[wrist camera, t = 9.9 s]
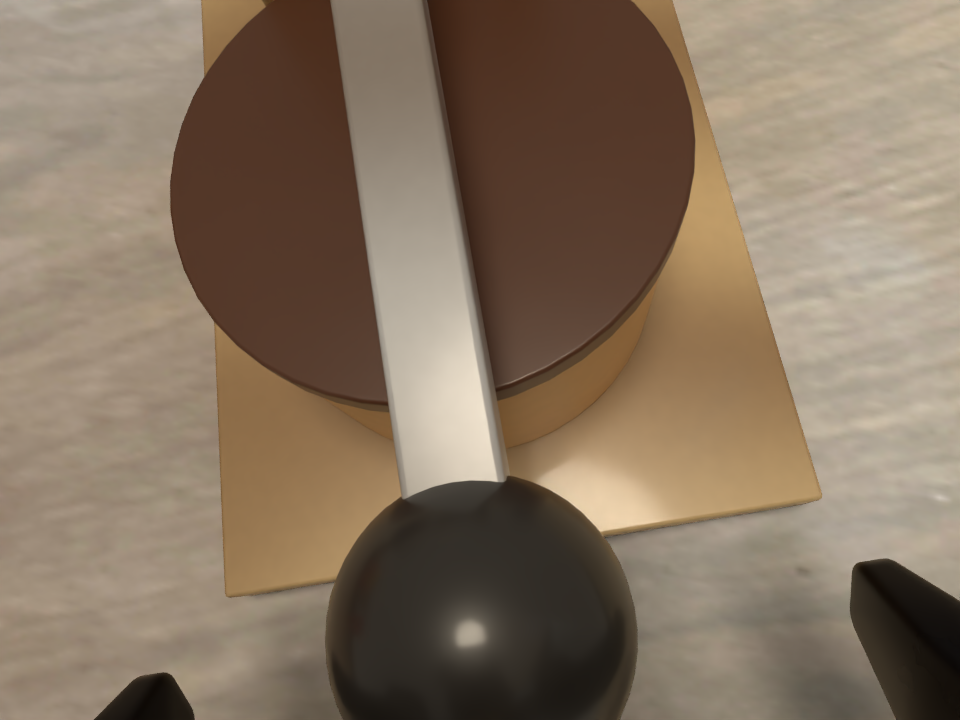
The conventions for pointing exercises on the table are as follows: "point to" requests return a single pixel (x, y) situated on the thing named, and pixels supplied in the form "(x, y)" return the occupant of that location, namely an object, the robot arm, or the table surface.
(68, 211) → the table surface
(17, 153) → the table surface
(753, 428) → the slicer
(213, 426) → the table surface
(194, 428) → the table surface
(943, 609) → the robot arm
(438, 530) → the blade
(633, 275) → the cake
